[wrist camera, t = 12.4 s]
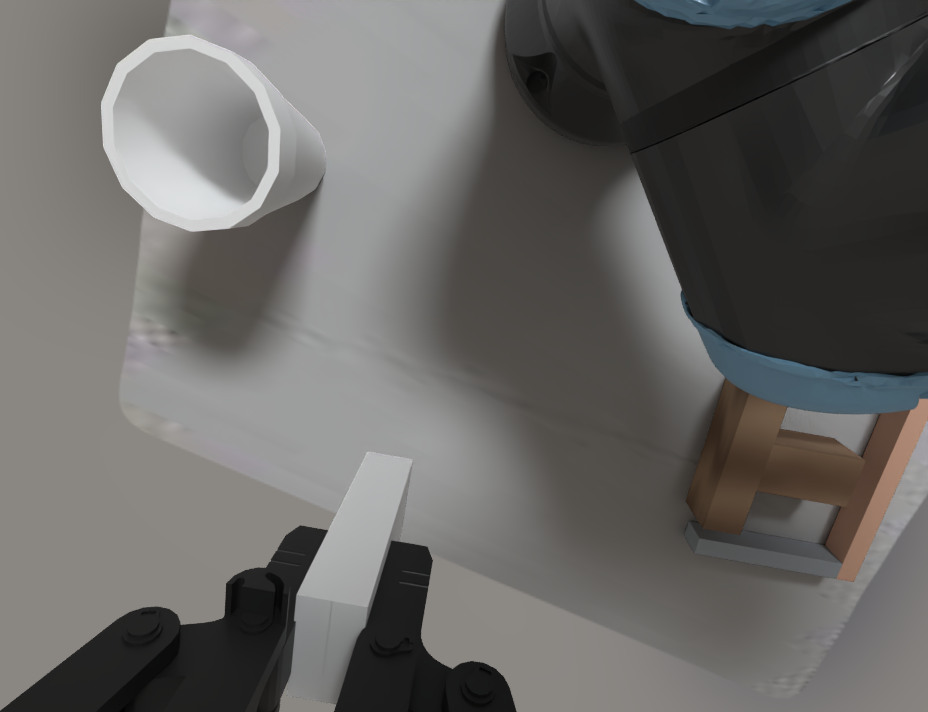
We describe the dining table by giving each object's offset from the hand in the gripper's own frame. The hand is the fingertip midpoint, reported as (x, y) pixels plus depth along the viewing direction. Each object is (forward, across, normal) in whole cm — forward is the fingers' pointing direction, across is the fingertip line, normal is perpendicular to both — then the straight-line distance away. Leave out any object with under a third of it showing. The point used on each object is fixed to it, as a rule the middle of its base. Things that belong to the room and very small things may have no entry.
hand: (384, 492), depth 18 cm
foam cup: (+27, -14, +10) cm, 32 cm away
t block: (+27, +27, -6) cm, 38 cm away
